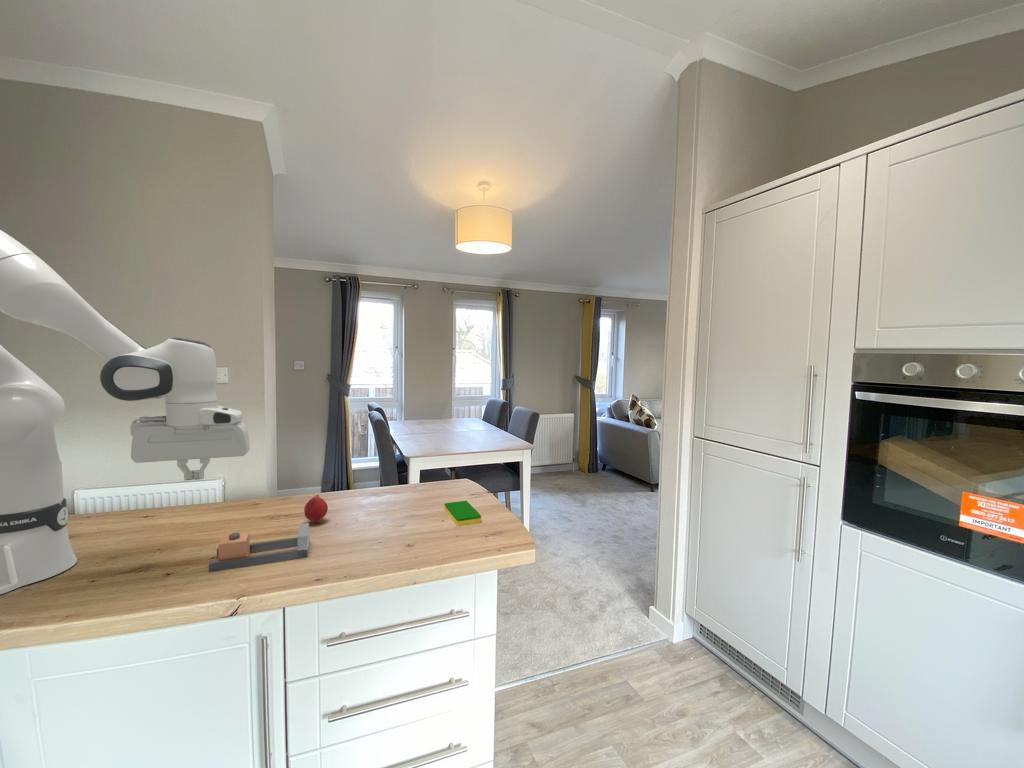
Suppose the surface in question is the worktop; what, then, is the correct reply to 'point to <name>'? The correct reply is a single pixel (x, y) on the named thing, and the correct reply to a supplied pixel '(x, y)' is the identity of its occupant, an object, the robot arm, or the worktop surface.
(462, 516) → the dish sponge
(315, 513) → the onion
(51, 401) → the robot arm
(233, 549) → the block
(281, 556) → the rail
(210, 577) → the worktop surface
